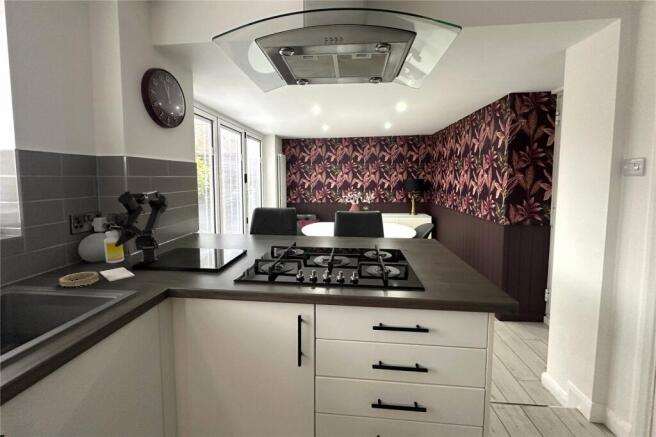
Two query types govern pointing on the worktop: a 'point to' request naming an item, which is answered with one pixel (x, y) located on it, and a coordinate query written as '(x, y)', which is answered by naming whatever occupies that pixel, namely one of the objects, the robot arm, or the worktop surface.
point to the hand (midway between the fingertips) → (110, 245)
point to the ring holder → (89, 278)
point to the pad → (116, 274)
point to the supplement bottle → (113, 248)
